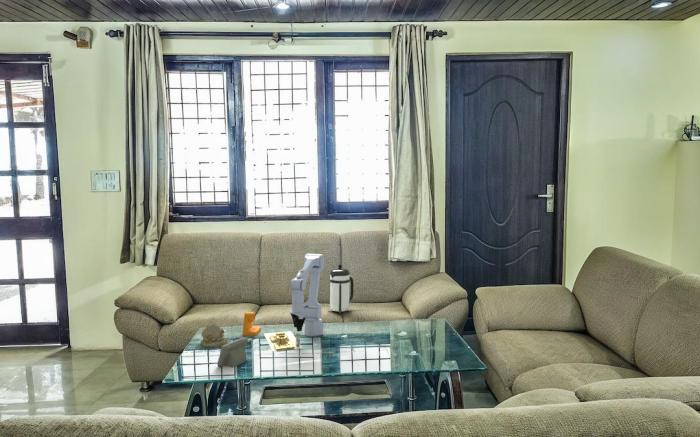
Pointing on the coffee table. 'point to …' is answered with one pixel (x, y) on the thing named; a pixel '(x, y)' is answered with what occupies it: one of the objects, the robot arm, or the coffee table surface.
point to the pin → (298, 339)
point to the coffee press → (340, 289)
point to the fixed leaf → (283, 343)
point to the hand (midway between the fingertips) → (297, 329)
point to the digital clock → (233, 353)
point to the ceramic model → (213, 336)
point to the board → (291, 339)
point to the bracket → (250, 325)
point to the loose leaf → (273, 337)
